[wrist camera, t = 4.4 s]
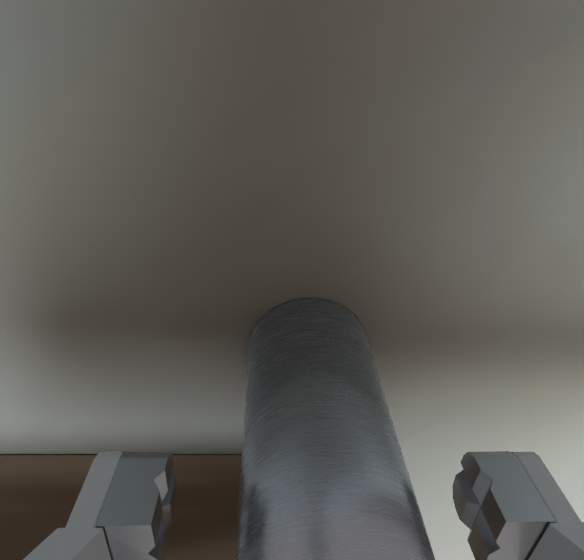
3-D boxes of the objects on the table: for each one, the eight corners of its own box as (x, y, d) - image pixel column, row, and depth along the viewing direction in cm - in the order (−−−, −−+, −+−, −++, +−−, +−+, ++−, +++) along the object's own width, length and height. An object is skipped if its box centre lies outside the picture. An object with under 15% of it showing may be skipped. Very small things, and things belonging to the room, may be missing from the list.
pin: (249, 296, 12) (198, 926, 4) (373, 299, 13) (603, 899, 4) (249, 389, 14) (214, 960, 5) (357, 390, 14) (490, 939, 6)
